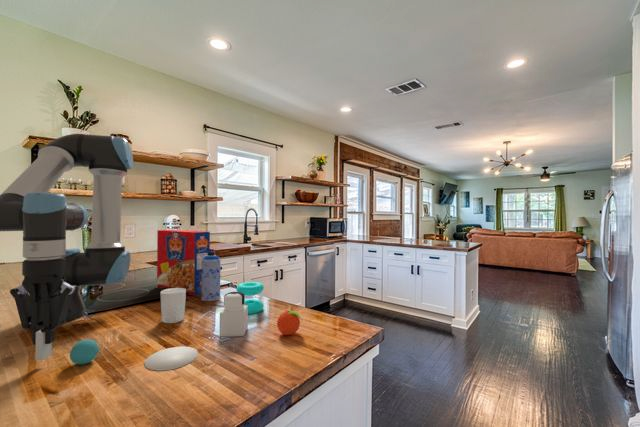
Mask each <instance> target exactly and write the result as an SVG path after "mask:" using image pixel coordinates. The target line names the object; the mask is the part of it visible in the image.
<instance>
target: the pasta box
mask: <svg viewBox="0 0 640 427" xmlns="http://www.w3.org/2000/svg"><path fill="white" fill-rule="evenodd" d="M156 238H157V239H156V240H157V241H156V242H157V243H156V244H157V247H156V248H157V249H156V250H157V251H156V253H157V255H156V258H157V259H156V261H157V262H156V268H157V269H156V288H158V287H162V288H167V289H170V288H184V289H186V293H188V294H187V295H190V296H194V297H195V296H198V295H202V259H203V258H204V257H205V256H207V255H208V254H209V252H211V251H210V247H211V246H210V243H211V242H210V241H211V240H210V238H211V232H210V231H205V230H204V231H202V230H187V229H186V230H184V229H159V230H157V237H156ZM162 288H161V289H162Z"/></svg>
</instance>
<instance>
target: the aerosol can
mask: <svg viewBox="0 0 640 427" xmlns="http://www.w3.org/2000/svg"><path fill="white" fill-rule="evenodd" d="M221 298H222V296H221V258H220V256H218V255H216V254H215V251H213V250H211V251H210V252H209V254H208V255H207V256H205V257H204V258H203V259H202V294H201V298H200V300H201V301H203V302H212V301H218V300H220V299H221Z"/></svg>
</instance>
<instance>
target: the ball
mask: <svg viewBox="0 0 640 427" xmlns="http://www.w3.org/2000/svg"><path fill="white" fill-rule="evenodd" d="M99 350H100V348H99V344H98V343H97V341H95V340H93V339H89V338H87V339H84V340H80V341H78V342H76V343H75V344H74V345H73V346H72V348H71V350H70V352H69V359H70V361H71V362H72V363H73V364H76V365H86V364H89V363H90V362H92V361H94V359H95V358H96V357H97V356H98V354H99Z"/></svg>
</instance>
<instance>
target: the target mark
mask: <svg viewBox="0 0 640 427" xmlns="http://www.w3.org/2000/svg"><path fill="white" fill-rule="evenodd" d="M198 356H199V352H198V350H197V349H196V348H193V347H192V346H191V347H190V346H174V347H169V348H164V349H161V350H159V351H156V352H154V353H152V354H151V355H149V356H148V357H146V358H145V361H144V366H145V368H146V369H148V370H151V371H159V372H160V371H163V372H164V371H171V370H175V369H179V368H182V367H184V366H187V365H189V364H191V363H192V362H193V361H196V359H197V358H198Z"/></svg>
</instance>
